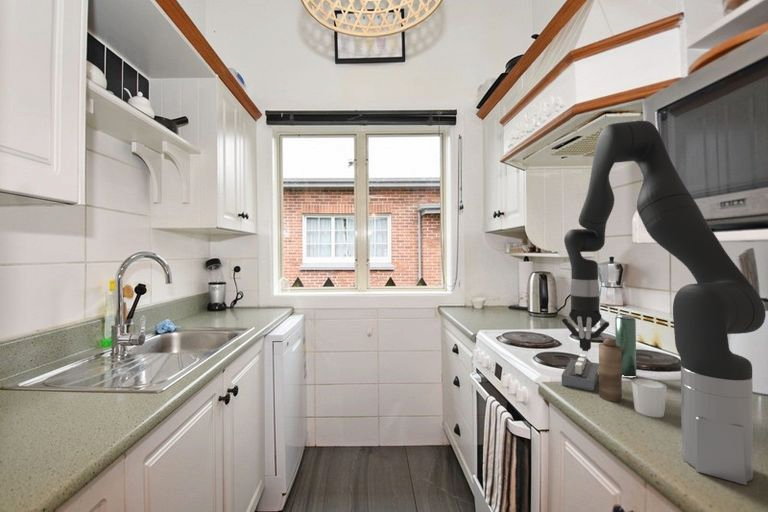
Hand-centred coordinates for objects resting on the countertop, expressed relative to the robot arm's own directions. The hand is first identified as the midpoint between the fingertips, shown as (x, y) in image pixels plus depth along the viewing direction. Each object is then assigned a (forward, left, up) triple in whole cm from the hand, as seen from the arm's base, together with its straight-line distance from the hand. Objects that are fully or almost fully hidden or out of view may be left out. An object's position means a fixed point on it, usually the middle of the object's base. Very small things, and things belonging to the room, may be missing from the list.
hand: (585, 350), depth 102 cm
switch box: (0, +1, -9) cm, 9 cm away
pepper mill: (-11, -7, -9) cm, 16 cm away
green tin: (+11, -10, -9) cm, 17 cm away
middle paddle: (0, +1, -6) cm, 6 cm away
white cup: (-15, -15, -9) cm, 23 cm away
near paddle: (-5, +1, -6) cm, 8 cm away
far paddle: (+5, +1, -6) cm, 8 cm away
